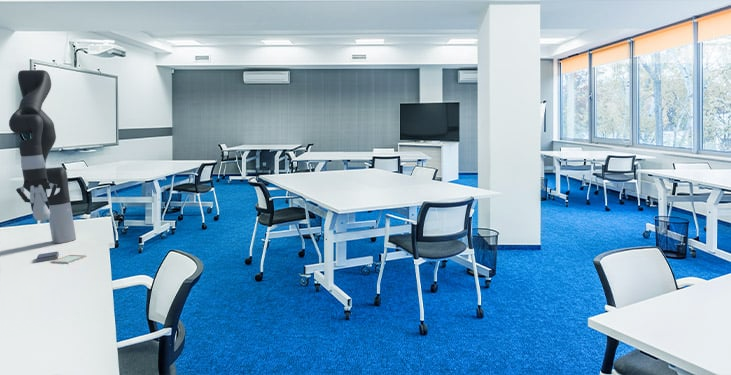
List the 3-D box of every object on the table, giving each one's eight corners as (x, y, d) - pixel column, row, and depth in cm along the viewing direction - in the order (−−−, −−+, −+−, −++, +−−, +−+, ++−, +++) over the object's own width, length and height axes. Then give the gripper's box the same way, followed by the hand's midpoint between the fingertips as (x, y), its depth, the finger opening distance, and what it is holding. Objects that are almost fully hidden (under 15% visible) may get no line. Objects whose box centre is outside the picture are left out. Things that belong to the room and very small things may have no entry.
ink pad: (38, 258, 196) (37, 254, 195) (58, 254, 199) (58, 250, 198) (36, 262, 189) (35, 258, 189) (57, 258, 193) (57, 254, 192)
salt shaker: (54, 217, 194) (49, 184, 192) (44, 220, 188) (38, 187, 186) (40, 218, 195) (35, 185, 192) (29, 221, 189) (24, 188, 187)
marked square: (50, 262, 188) (50, 261, 188) (69, 256, 196) (69, 254, 196) (68, 263, 185) (67, 262, 185) (86, 256, 193) (86, 255, 193)
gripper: (56, 164, 195) (62, 207, 197) (13, 168, 188) (20, 212, 191) (54, 166, 188) (61, 210, 191) (10, 170, 182) (17, 215, 184)
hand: (41, 211), depth 191 cm, fingers closed on salt shaker, 3 cm apart
